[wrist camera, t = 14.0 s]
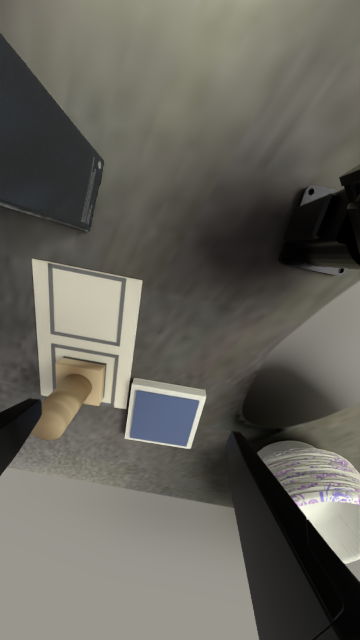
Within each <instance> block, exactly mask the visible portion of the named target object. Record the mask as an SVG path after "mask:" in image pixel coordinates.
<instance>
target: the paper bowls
mask: <svg viewBox="0 0 360 640" xmlns="http://www.w3.org/2000/svg"><path fill="white" fill-rule="evenodd" d="M257 454H258V455H259V457H260V458H261V459H262V460H263V462H264V463H265V464H266V466H267V467H268V468H269V469H270V471H271V472H272V473H273V475H274V476H275V477H276V478H277V480H278V481H279V482H280V484H281V485H282V486H283V487H284V489H285V490H286V491H287V493H288V494H289V495H290V496H291V498H292V499H293V500H294V502H295V503H296V504H297V505H298V507H299V508H300V509H301V511H302V512H303V513H304V514H305V516H306V517H307V519H308V520H309V521H310V522H311V523H312V525H313V526H314V527H315V528H316V530H317V531H318V532H319V534H320V535H321V536H322V537H323V539H324V540H325V541H326V542H327V544H328V545H329V546H330V547H331V549H332V550H333V551H334V552H335V553H336V555H337V556H338V557H339V558H340V559H341V561H342V562H343V563H344V564H347V563H350V562H353V561H356V560H359V559H360V474H359V473H358V471H357V470H356V469H355V468H354V467H353V466H352V464H351V463H350V462H349V461H348V460H346V459H345V458H343V457H342V456H340V455H338V454H336V453H333V452H330V451H326V450H321V449H316V448H315V447H313V446H311V445H309V444H307V443H304V442H299V441H280V442H276V443H273V444H270V445H268V446H266V447H264V448H262V449H261V450H260V451H258V452H257Z"/></svg>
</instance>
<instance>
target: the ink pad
mask: <svg viewBox="0 0 360 640" xmlns="http://www.w3.org/2000/svg"><path fill="white" fill-rule="evenodd" d="M205 399H206V392H205V390H203V389H197V388H191V387H186V386H180V385H174V384H168V383H163V382H157V381H151V380H145V379H140V378H134V380H133V382H132V387H131V394H130V402H129V409H128V417H127V425H126V432H125V439H130V440H137V441H143V442H149V443H156V444H162V445H168V446H175V447H181V448H187V449H191V445H192V442H193V439H194V436H195V432H196V429H197V426H198V422H199V419H200V416H201V412H202V409H203V406H204V403H205Z"/></svg>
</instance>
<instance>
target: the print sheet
mask: <svg viewBox="0 0 360 640" xmlns="http://www.w3.org/2000/svg"><path fill="white" fill-rule="evenodd" d="M32 267H33V282H34V297H35V312H36V327H37V342H38V356H39V371H40V386H41V395H43V396H49V395H50V394H51V393H52V392H53V391H54V390H55V389H56V366H55V363H56V362H58V361H59V360H60V359H61V358H62V357H64V356H68V357H73V358H79V359H85V360H90V361H96V362H101V363H107V366H106V379H105V392H104V398H103V399H102V401H101V403H100V405H104V406H110V407H116V408H122V409H126V408H127V400H128V392H129V384H130V376H131V368H132V361H133V353H134V345H135V337H136V329H137V321H138V313H139V306H140V298H141V290H142V282H143V280H138V279H133V278H128V277H123V276H118V275H113V274H108V273H103V272H98V271H93V270H88V269H83V268H78V267H73V266H68V265H63V264H58V263H53V262H48V261H43V260H38V259H32Z"/></svg>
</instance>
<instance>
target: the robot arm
mask: <svg viewBox="0 0 360 640" xmlns="http://www.w3.org/2000/svg"><path fill="white" fill-rule="evenodd" d="M339 178H340V182H341V185H342V186H344V188H345V189H342V190H340V191H337V190H333V189H329V188H324V187H320V186H316V185H310V186H308V187H307V188H305V189H304V191H303V193H302V196H301V199H300V201H299V204H298V207H297V208H296V209H295V210H294V212H293V215H292V218H291V221H290V224H289V226H288V229H287V232H286V235H285V238H284V239H285V244H284V246H283V249H282V252H281V255H280V258H279V262H280V263H281V264H284V265H289V266H293V267H298V268H303V269H307V270H312V271H317V272H322V273H326V274H331V275H336V276H342V275H344V274H345V272H346V271H347V269H359V270H360V165H358V166H356V167H355V168H353V169H352V170H350V171H348V172H347V173H345V174H344V175H342V176H341V177H339ZM309 190H310V191H311V195H309V194H308V191H309ZM284 257H287V260H286V261H284ZM339 269H341V270H340V272H338V271H339ZM41 415H42V402H41V400H40V399H37V398H29V399H27V400H25V401H23V402H21V403H19V404H17V405H15V406H13V407H10V408H8V409H6V410H4V411H2V412H0V476H1V474H2V473H3V472H4V470H5V469H6V468H7V466H8V465H9V464H10V463H11V461H12V460H13V459H14V457H15V456H16V455H17V453H18V452H19V450H20V449H21V447H22V446H23V444H24V443H25V441H26V439H27V438H28V436H29V435H30V433H31V432H32V430H33V429H34V427H35V426H36V424H37V422H38V421H39V419H40V418H41ZM226 450H227V460H228V470H229V480H230V488H231V494H232V499H233V504H234V509H235V515H236V520H237V525H238V530H239V536H240V541H241V546H242V552H243V557H244V562H245V567H246V573H247V578H248V583H249V588H250V594H251V599H252V604H253V609H254V615H255V620H256V625H257V631H258V636H259V640H360V582H359V581H358V579H357V578H356V577H355V576H354V575H353V574H352V573H351V571H350V570H349V569H348V568H347V566H346V565H345V564H344V563H343V562H342V561H341V559H340V558H339V557H338V556H337V555H336V553H335V552H334V551H333V550H332V549H331V547H330V546H329V545H328V544H327V542H326V541H325V540H324V539H323V537H322V536H321V535H320V534H319V532H318V531H317V530H316V528H315V527H314V526H313V525H312V523H311V522H310V521H309V520H308V519H307V517H306V516H305V514H304V513H303V512H302V511H301V509H300V508H299V507H298V505H297V504H296V503H295V502H294V500H293V499H292V498H291V496H290V495H289V494H288V493H287V491H286V490H285V489H284V487H283V486H282V485H281V484H280V482H279V481H278V480H277V478H276V477H275V476H274V475H273V473H272V472H271V471H270V469H269V468H268V467H267V466H266V464H265V463H264V462H263V460H262V459H261V458H260V457H259V455H258V454H257V453H256V451H255V450H254V449H253V448H252V446H251V445H250V444H249V442H248V441H247V440H246V439H245V437H244V436H243V435H242V434H241V433H240V432H237V431H231V433H230V435H229V438H228V441H227V444H226Z"/></svg>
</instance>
